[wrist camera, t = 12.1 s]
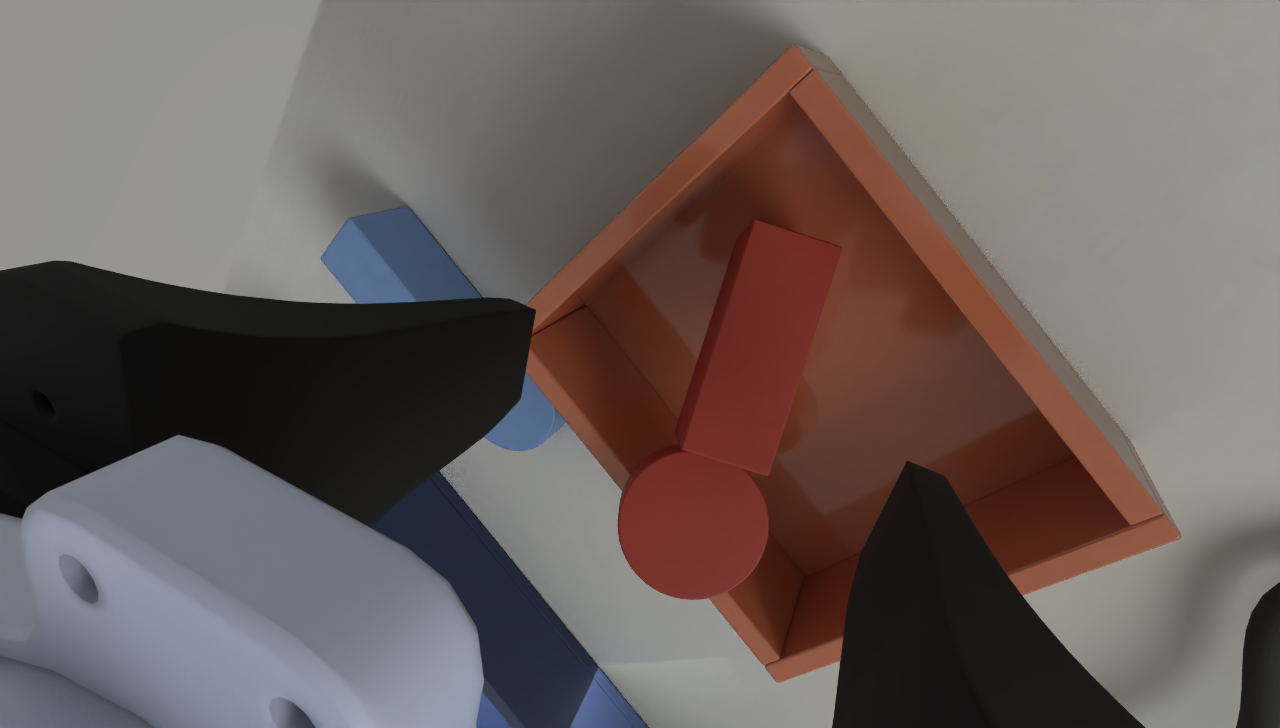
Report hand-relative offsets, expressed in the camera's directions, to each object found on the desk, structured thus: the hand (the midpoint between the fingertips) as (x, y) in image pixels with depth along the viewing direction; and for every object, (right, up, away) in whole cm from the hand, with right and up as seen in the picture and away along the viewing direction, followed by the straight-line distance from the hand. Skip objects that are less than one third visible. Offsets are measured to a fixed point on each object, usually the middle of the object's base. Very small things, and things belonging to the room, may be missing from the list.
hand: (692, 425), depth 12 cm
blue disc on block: (-6, +2, +10) cm, 12 cm away
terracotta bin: (+4, +1, +6) cm, 7 cm away
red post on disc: (+1, 0, +5) cm, 5 cm away
